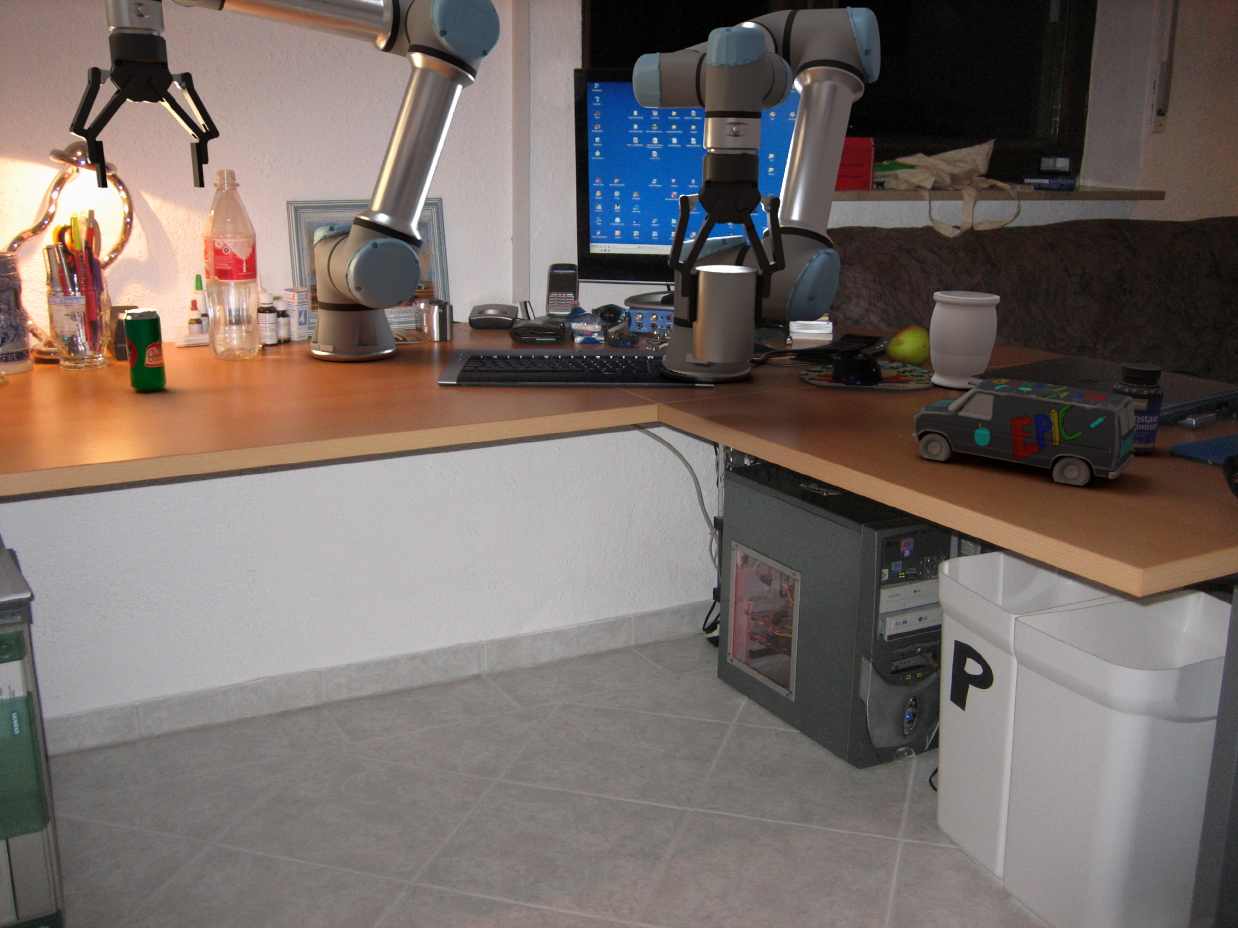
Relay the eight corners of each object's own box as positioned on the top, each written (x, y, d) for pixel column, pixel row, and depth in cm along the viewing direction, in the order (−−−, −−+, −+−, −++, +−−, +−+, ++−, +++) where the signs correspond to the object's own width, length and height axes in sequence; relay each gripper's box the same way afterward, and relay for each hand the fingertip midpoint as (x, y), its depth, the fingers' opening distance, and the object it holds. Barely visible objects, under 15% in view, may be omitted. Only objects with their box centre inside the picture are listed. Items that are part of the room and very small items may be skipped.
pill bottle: (1117, 454, 138) (1130, 370, 135) (1094, 442, 144) (1106, 361, 140) (1163, 454, 138) (1177, 370, 135) (1139, 442, 144) (1152, 361, 141)
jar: (911, 380, 181) (920, 291, 177) (960, 376, 185) (969, 289, 181) (953, 393, 172) (963, 299, 168) (1003, 388, 176) (1014, 297, 172)
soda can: (154, 393, 161) (145, 313, 158) (124, 391, 162) (115, 312, 158) (173, 386, 166) (166, 309, 162) (144, 384, 167) (136, 307, 163)
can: (707, 364, 145) (710, 273, 142) (682, 353, 153) (685, 266, 149) (763, 361, 148) (768, 271, 144) (736, 350, 156) (740, 265, 152)
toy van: (935, 438, 144) (942, 365, 141) (1133, 472, 130) (1146, 392, 127) (905, 455, 135) (913, 378, 133) (1114, 493, 122) (1127, 408, 119)
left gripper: (44, 24, 142) (65, 189, 148) (233, 39, 157) (245, 188, 163) (34, 29, 148) (54, 187, 154) (217, 42, 163) (229, 186, 169)
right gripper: (653, 151, 139) (649, 324, 145) (816, 154, 139) (805, 326, 146) (649, 151, 146) (645, 316, 152) (805, 153, 147) (794, 318, 153)
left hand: (152, 188), depth 158 cm, fingers open, 13 cm apart
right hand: (723, 321), depth 149 cm, fingers closed on can, 9 cm apart
